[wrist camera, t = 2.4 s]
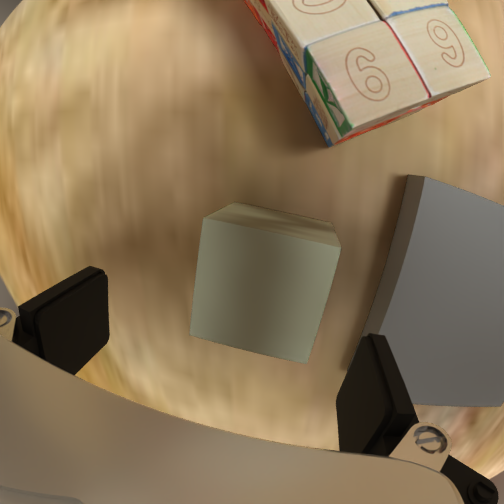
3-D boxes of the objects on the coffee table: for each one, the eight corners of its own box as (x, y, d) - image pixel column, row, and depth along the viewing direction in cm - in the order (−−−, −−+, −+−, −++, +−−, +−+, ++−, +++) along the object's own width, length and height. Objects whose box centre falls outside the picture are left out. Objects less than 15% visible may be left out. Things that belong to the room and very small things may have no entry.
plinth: (551, 231, 15) (574, 240, 12) (487, 385, 19) (500, 406, 16) (408, 174, 17) (425, 176, 14) (347, 370, 21) (350, 396, 18)
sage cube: (331, 222, 18) (341, 247, 13) (308, 311, 20) (306, 364, 14) (234, 201, 19) (203, 217, 13) (220, 290, 21) (189, 334, 15)
